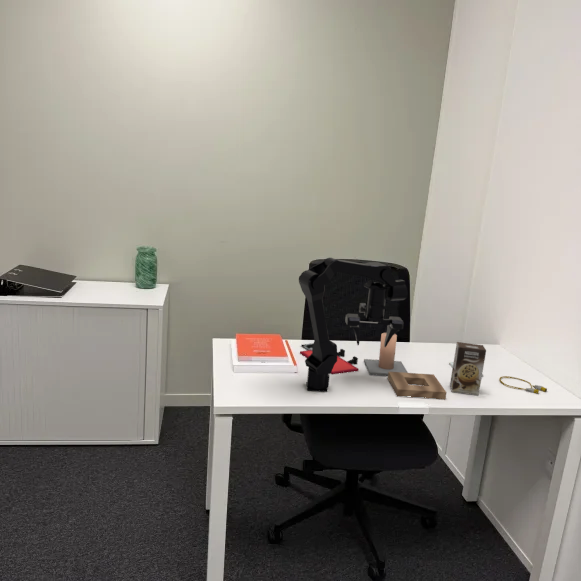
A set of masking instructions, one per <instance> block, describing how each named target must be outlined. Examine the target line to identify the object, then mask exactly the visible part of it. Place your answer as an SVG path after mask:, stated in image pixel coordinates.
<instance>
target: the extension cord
mask: <svg viewBox="0 0 581 581" xmlns="http://www.w3.org/2000/svg"><path fill="white" fill-rule="evenodd" d="M502 379H513V380H518V381H521V382H525V383H528V384H529V385H530V387H526V388H524V387H523V388H522V387H518V386H512V385H509V384H506V383H505V382H503V380H502ZM498 381H499V382H500V384H501V385H503V386H504V387H507V388H509V389H515V390H521V391H522V390H525V391H526V392H527V393H530V394H536V395H539V394H540V392H543V393H546V392H547V390H548V388H547V387H544V386H542V385H538V384H535V385H532V383H531V382H529V381H528V380H525V379H521V378H519V377H514V376H507V375H504V376H503V375H502V376H500V377H499V380H498ZM533 387H534V388H533ZM539 391H540V392H539Z"/></svg>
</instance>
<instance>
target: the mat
mask: <svg viewBox="0 0 581 581" xmlns="http://www.w3.org/2000/svg"><path fill="white" fill-rule="evenodd" d="M363 363H364V365H365V367H367V368H366V370H367V372H368V374H369V376H379V377H388V372H403V373H409V372H408V371H407V368H406V367H405V365H404V364H403V363H402V361H399V360H394V368H393V369H382V368H380V367H379V366H378V365H379V359H372V358H371V359H368V358H364V359H363Z"/></svg>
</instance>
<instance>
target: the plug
mask: <svg viewBox="0 0 581 581" xmlns="http://www.w3.org/2000/svg"><path fill="white" fill-rule="evenodd" d="M386 333H387V332H383V333H381V336H380V345H379V354H378V355H379V356H378V360H379V365H378V366H379V367H380V368H382V369H393V368H394V361H395V359H396V358H395V357H396V350H397V349H396V347H397V337H398V335H397V334H396V333H395V334H394V335H393V336H392V338H391V339H390V341H389V343H388V344H387V346H386V347H384V343H385V338H386Z"/></svg>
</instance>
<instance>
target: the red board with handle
mask: <svg viewBox="0 0 581 581" xmlns="http://www.w3.org/2000/svg"><path fill="white" fill-rule="evenodd" d="M313 343H314V342H313ZM313 343H304V344H301V346H302V347H304V348H305V349H307V350H300V351H299V354H300V355H301V354H302V355H301V356H303V357H304V356H305V357H304V358H306V359H307V358H308V357H309V356H310V355H311V354H312V346H313ZM337 352H338V354H339V356H337V362H336V363H335V365H334V367H333V369H332V372H331V374H330V375H339V373H340V374H347V372H348V373H354V371H355V372H359V370H360V369H359V368H358V367H357V366H355V365H358V360H359V358H358V357H357V356H355V355H354V356H352V359H350V360H345V359H343V358H345V355H346V350H345V349H343V348H340V349H339V351H337ZM353 363H354V364H353Z"/></svg>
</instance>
